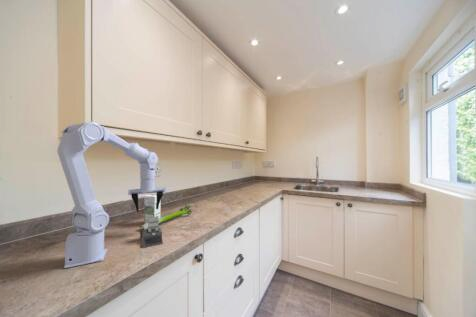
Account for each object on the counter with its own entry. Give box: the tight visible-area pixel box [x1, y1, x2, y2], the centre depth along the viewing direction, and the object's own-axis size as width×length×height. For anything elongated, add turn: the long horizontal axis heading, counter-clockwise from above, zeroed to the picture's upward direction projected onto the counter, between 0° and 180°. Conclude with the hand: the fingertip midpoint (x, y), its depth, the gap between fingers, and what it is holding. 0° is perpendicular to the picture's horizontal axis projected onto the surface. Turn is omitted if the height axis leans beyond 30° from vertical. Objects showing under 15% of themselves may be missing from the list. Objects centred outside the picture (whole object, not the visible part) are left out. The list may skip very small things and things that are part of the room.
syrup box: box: [143, 193, 162, 225], centre depth 93 cm, size 6×6×14 cm
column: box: [148, 216, 160, 233], centre depth 75 cm, size 4×4×8 cm
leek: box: [139, 205, 193, 230], centre depth 96 cm, size 6×7×30 cm
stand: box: [141, 226, 164, 249], centre depth 76 cm, size 7×17×4 cm, turn 28°
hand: (147, 209), depth 80 cm, fingers open, 7 cm apart
